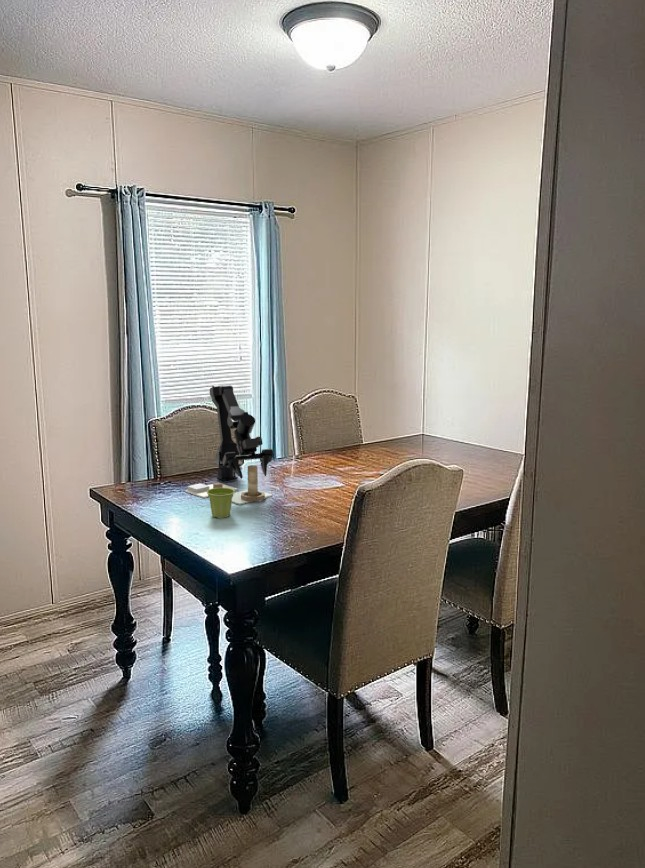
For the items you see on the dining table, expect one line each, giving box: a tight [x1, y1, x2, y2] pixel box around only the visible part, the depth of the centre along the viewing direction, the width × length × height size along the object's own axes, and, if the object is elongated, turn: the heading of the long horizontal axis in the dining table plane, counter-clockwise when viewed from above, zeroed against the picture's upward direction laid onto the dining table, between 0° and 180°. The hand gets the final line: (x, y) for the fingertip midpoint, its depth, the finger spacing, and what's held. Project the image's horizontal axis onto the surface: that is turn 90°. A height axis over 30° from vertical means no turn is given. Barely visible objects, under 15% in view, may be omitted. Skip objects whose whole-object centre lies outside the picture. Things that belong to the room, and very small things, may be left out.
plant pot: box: [207, 488, 236, 519], centre depth 230 cm, size 9×9×9 cm
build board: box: [231, 489, 273, 506], centre depth 251 cm, size 16×14×2 cm
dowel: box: [247, 464, 259, 497], centre depth 248 cm, size 4×4×12 cm
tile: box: [185, 482, 239, 499], centre depth 260 cm, size 16×12×4 cm
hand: (253, 476), depth 247 cm, fingers open, 9 cm apart
